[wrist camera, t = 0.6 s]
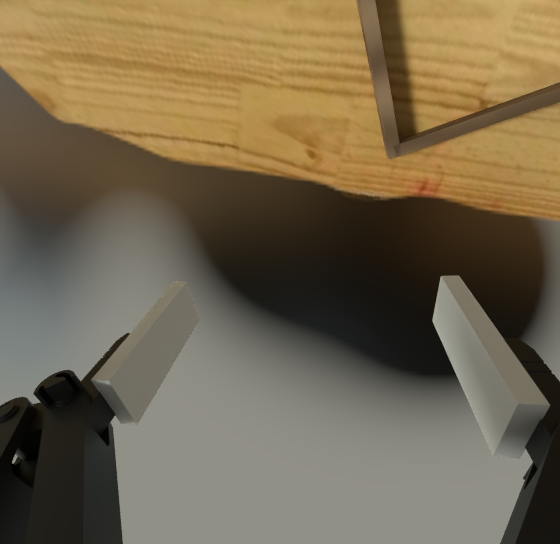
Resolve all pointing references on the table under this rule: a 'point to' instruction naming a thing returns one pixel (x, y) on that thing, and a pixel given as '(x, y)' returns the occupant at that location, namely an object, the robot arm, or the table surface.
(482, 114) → the keyhole corral
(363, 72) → the table surface
